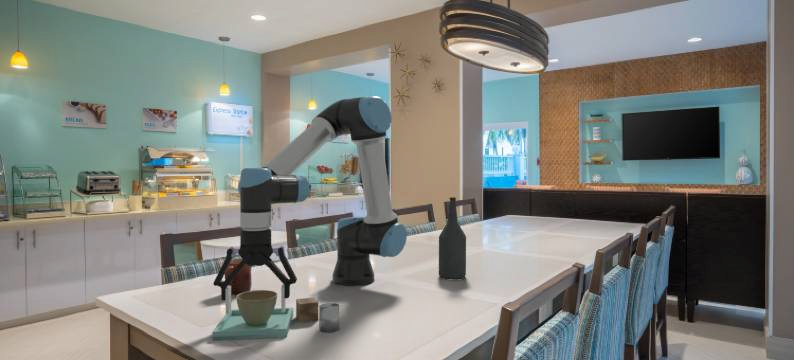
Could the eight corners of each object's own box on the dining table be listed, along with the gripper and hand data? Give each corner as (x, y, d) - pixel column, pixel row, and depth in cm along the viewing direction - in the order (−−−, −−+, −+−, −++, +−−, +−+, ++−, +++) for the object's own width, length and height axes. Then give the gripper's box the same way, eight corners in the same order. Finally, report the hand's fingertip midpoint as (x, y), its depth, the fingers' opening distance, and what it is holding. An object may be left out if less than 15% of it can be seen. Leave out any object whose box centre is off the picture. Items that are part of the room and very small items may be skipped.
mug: (234, 288, 153) (234, 257, 153) (258, 289, 151) (258, 259, 151) (213, 297, 141) (213, 265, 141) (239, 299, 139) (239, 266, 139)
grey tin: (339, 325, 116) (339, 302, 116) (339, 332, 111) (339, 308, 111) (319, 326, 116) (319, 303, 116) (318, 333, 111) (318, 309, 111)
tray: (293, 314, 125) (293, 307, 125) (286, 337, 108) (286, 328, 108) (229, 317, 123) (229, 309, 123) (212, 340, 106) (212, 331, 106)
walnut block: (314, 315, 125) (314, 297, 125) (318, 320, 120) (318, 302, 120) (296, 317, 123) (296, 299, 123) (299, 323, 118) (299, 304, 118)
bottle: (470, 276, 172) (470, 197, 171) (459, 281, 163) (459, 198, 163) (445, 272, 177) (446, 196, 176) (433, 277, 169) (434, 197, 168)
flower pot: (241, 316, 120) (242, 290, 120) (280, 316, 121) (280, 289, 121) (231, 329, 110) (231, 300, 110) (272, 329, 111) (273, 300, 111)
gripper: (306, 226, 120) (306, 305, 121) (208, 227, 117) (209, 309, 117) (304, 229, 113) (304, 314, 113) (200, 231, 110) (200, 318, 110)
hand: (256, 311), depth 115 cm, fingers open, 13 cm apart
